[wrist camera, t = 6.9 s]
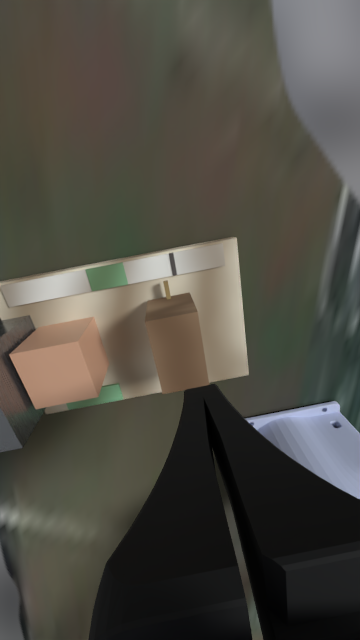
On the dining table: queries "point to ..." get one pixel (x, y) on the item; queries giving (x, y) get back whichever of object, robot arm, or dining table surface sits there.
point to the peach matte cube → (62, 363)
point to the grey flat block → (15, 388)
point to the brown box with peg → (176, 342)
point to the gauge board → (140, 310)
